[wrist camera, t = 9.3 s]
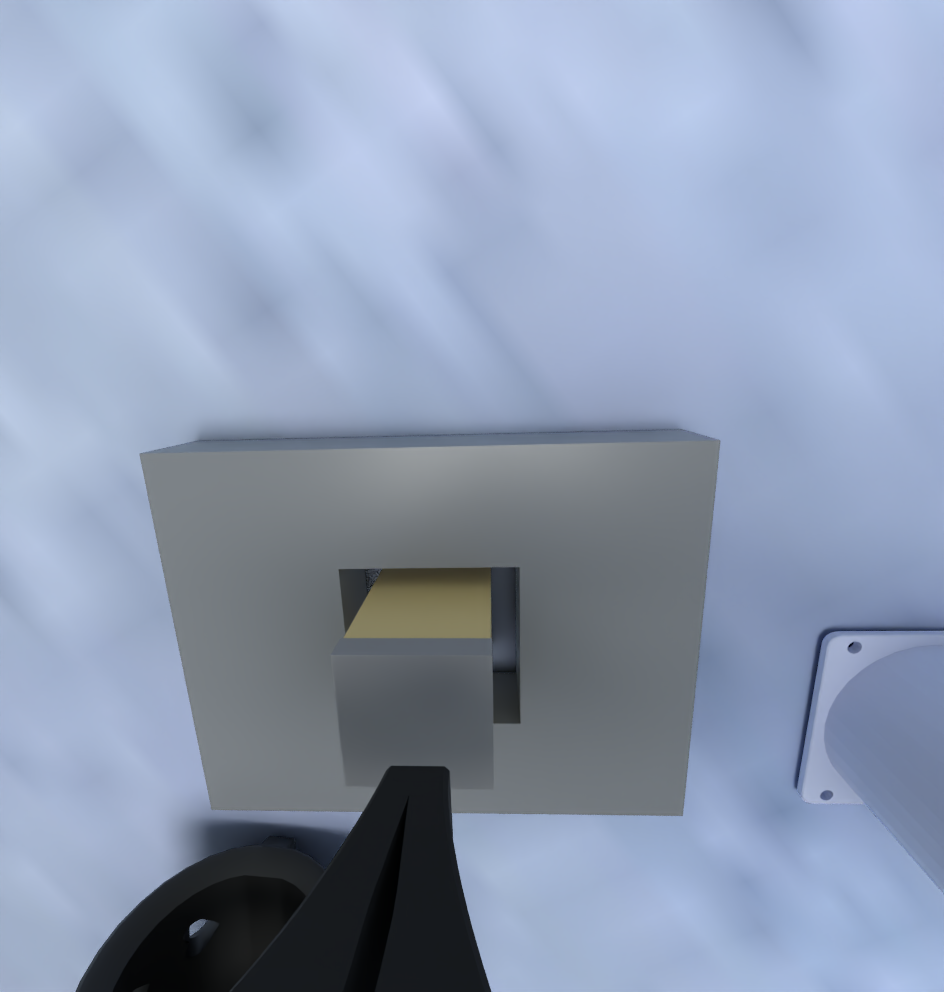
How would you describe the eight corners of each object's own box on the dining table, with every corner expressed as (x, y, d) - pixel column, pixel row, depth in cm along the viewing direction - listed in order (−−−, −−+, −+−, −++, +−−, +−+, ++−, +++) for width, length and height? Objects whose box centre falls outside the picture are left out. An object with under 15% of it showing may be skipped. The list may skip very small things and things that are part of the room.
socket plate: (681, 429, 17) (720, 440, 14) (655, 753, 21) (682, 815, 18) (196, 440, 18) (139, 453, 15) (249, 750, 21) (211, 809, 18)
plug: (492, 553, 19) (492, 655, 12) (493, 646, 20) (494, 789, 13) (388, 554, 19) (330, 654, 12) (394, 646, 20) (344, 787, 13)
